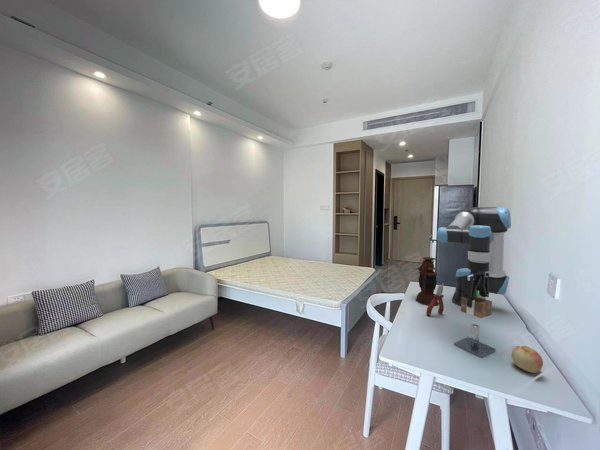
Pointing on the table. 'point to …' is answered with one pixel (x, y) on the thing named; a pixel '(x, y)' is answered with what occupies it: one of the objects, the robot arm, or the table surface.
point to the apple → (527, 359)
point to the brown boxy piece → (478, 307)
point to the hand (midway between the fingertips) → (475, 312)
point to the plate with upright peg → (475, 344)
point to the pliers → (436, 298)
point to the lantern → (427, 282)
